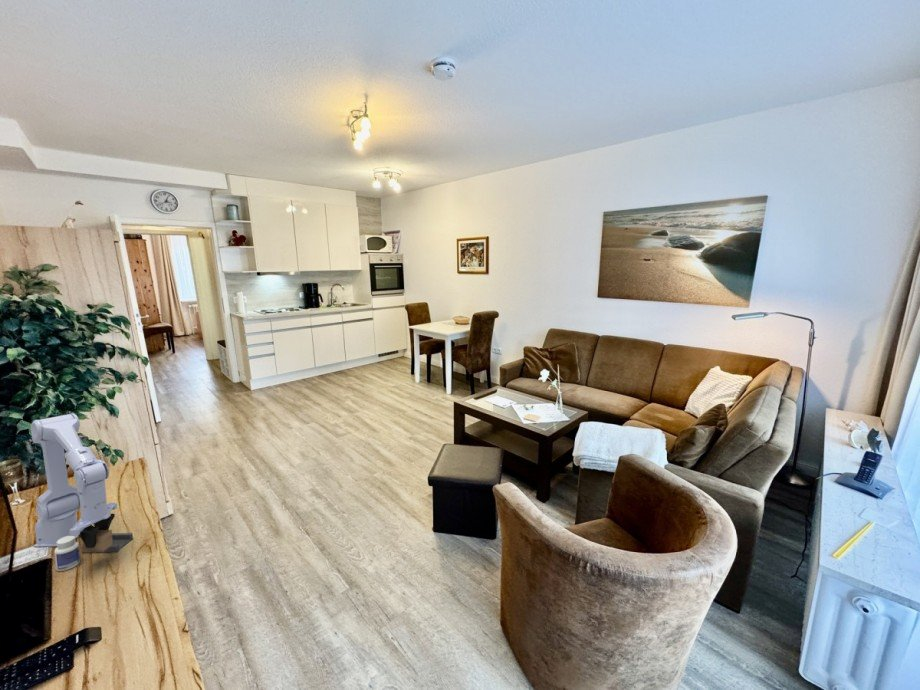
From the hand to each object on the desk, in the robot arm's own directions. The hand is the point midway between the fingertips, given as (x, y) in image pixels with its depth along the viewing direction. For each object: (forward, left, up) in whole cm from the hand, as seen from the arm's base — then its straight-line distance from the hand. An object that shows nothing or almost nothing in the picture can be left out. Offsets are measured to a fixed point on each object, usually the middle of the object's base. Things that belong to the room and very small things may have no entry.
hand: (96, 542), depth 116 cm
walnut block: (0, 0, -2) cm, 2 cm away
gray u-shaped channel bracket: (-4, +9, -8) cm, 12 cm away
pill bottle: (-8, 0, -8) cm, 11 cm away
